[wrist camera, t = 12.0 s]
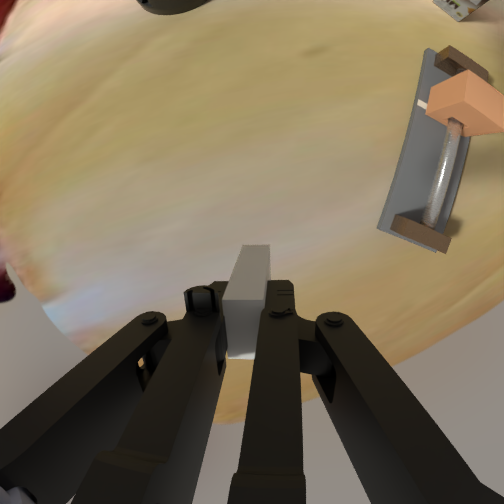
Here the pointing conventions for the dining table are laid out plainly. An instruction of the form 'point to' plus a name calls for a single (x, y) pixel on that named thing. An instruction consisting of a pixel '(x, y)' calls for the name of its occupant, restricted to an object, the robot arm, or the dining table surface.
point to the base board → (422, 159)
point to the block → (467, 104)
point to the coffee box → (459, 7)
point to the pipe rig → (440, 162)
